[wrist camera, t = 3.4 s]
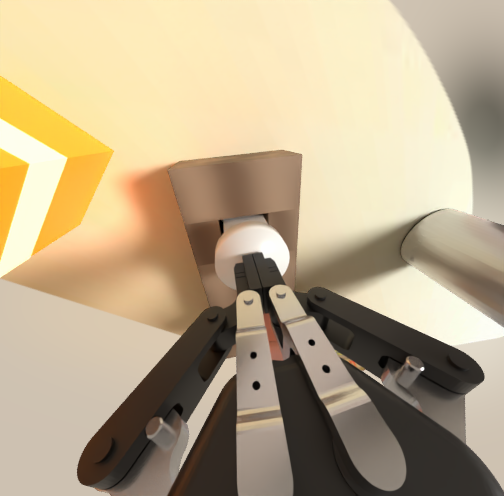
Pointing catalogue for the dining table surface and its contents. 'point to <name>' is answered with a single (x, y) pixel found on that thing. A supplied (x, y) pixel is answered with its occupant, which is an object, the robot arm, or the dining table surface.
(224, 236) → the white rounded piece
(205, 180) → the block
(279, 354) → the brick plunger
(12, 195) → the orange juice
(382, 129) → the dining table surface
